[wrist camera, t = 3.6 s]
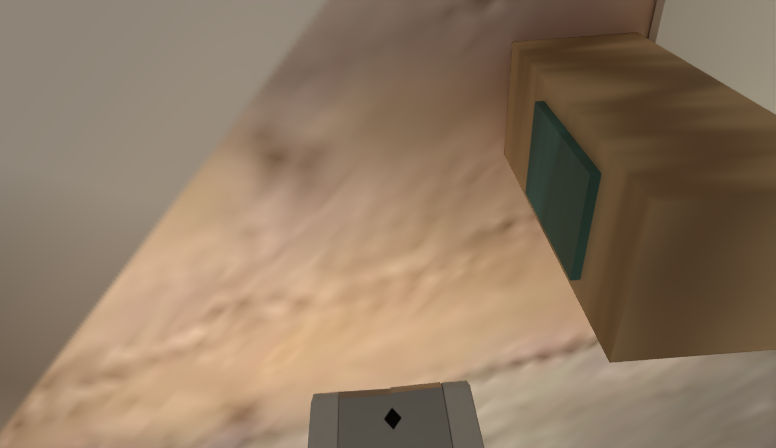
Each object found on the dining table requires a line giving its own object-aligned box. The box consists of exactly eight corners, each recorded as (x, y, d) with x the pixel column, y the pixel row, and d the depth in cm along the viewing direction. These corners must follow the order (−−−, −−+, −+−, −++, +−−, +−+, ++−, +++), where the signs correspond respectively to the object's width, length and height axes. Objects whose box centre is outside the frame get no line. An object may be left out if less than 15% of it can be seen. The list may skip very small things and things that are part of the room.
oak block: (637, 32, 20) (893, 184, 11) (613, 145, 23) (798, 347, 14) (505, 42, 20) (639, 204, 11) (497, 154, 23) (598, 363, 14)
